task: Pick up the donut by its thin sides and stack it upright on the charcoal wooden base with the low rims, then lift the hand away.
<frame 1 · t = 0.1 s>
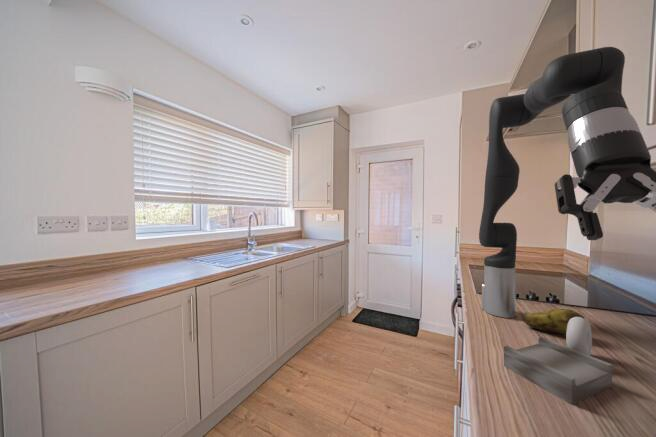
hand: (636, 239, 32), 31 cm above the countertop, tool tilted 20°, fingers open, 8 cm apart
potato: (553, 333, 70), on the countertop
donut: (579, 358, 57), on the countertop
base: (554, 375, 51), on the countertop
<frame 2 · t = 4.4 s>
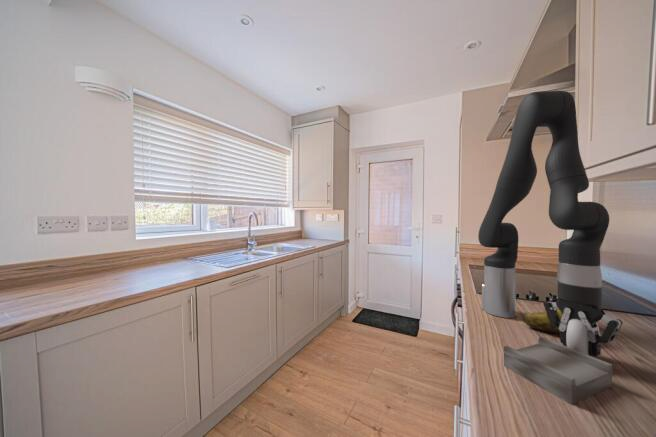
hand: (579, 350, 57), 2 cm above the countertop, tool pointing down, fingers closed on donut, 4 cm apart
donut: (579, 358, 57), on the countertop, touching gripper
everything else where it was.
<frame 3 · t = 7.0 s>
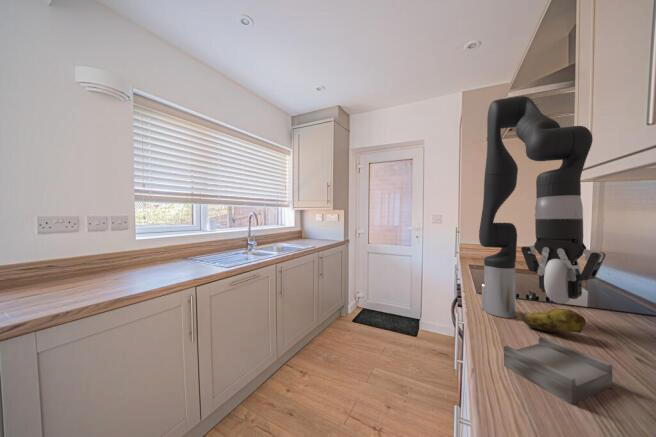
hand: (559, 294, 51), 18 cm above the countertop, tool pointing down, fingers closed on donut, 4 cm apart
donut: (559, 303, 51), point 16 cm above the countertop, touching gripper
everything else where it was.
when the fingers open (7 cm above the countertop, at t = 9.9 s): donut drops 2 cm, resting on base.
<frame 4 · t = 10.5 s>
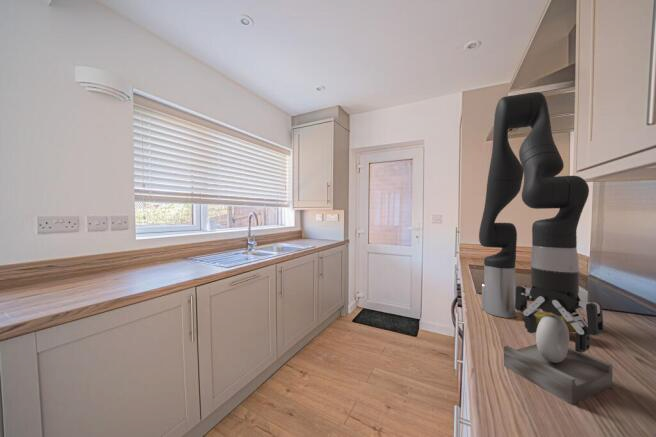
hand: (554, 340, 51), 8 cm above the countertop, tool pointing down, fingers open, 8 cm apart
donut: (553, 362, 51), point 3 cm above the countertop, touching base
everything else where it was.
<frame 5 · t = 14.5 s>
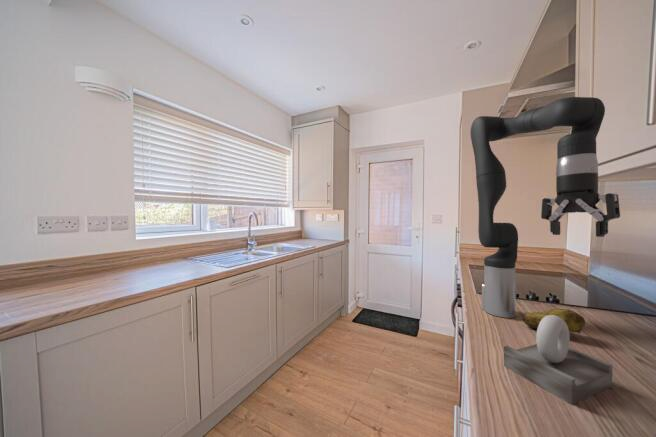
hand: (576, 235, 61), 30 cm above the countertop, tool pointing down, fingers open, 8 cm apart
nothing on the countertop moved.
at the end: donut touching base; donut 0.2 cm from the base (horizontally) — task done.
